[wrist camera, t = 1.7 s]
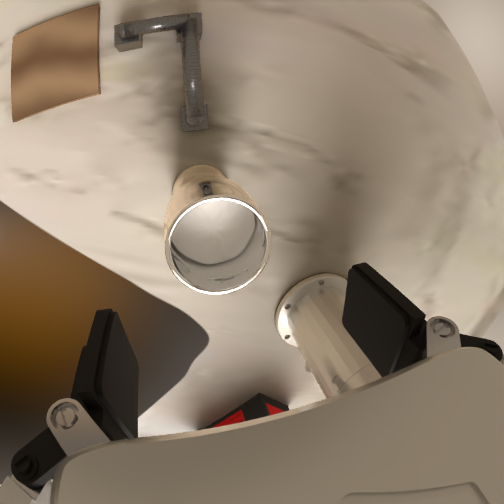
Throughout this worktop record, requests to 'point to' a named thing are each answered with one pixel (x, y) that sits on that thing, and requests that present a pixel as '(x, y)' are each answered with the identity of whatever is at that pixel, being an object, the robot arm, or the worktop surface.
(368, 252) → the worktop surface
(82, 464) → the robot arm
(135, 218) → the worktop surface
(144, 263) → the worktop surface
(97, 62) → the walnut board
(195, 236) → the beer glass
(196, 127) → the grey metal bent rod
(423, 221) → the worktop surface
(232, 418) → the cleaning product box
